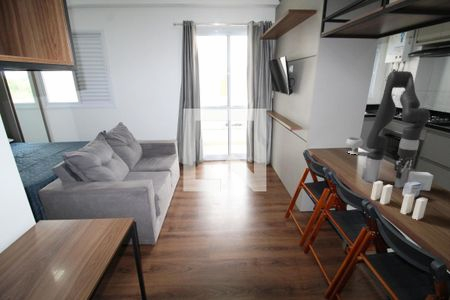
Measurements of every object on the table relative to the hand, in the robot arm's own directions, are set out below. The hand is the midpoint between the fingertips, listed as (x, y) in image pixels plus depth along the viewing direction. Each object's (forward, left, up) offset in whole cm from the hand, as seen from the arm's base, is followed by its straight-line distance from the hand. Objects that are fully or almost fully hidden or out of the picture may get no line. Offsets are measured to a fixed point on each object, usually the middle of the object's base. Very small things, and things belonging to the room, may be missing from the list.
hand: (401, 176), depth 117 cm
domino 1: (-11, 0, -19) cm, 22 cm away
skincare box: (-8, +38, -19) cm, 43 cm away
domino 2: (-6, 0, -19) cm, 20 cm away
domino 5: (+11, 0, -19) cm, 22 cm away
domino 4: (+5, 0, -19) cm, 20 cm away
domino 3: (0, 0, -6) cm, 6 cm away
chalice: (-77, +66, -19) cm, 103 cm away
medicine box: (-4, +22, -19) cm, 29 cm away
